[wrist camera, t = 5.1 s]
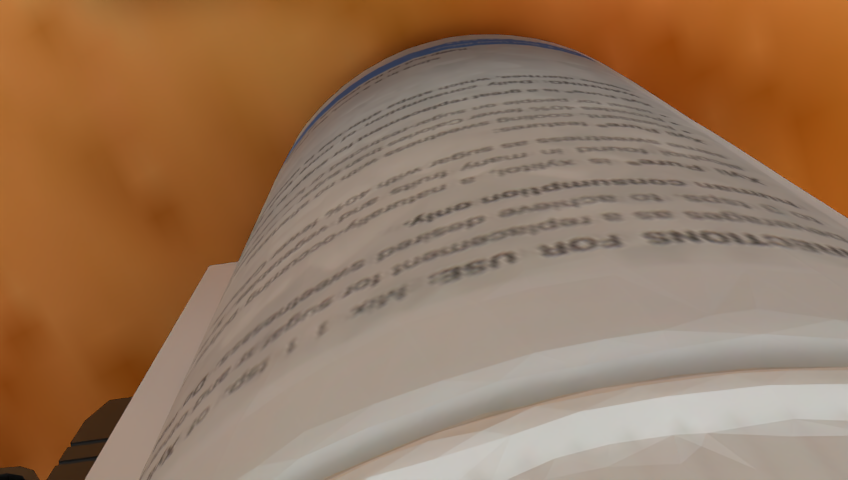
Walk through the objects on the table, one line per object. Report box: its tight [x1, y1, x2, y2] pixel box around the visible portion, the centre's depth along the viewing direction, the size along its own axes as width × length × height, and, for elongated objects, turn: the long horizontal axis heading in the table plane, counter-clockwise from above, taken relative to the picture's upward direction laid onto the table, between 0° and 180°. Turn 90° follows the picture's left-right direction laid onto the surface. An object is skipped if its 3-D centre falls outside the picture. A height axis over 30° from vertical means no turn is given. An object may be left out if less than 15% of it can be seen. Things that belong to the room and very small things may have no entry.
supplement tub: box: [139, 34, 848, 480], centre depth 11 cm, size 10×10×15 cm
